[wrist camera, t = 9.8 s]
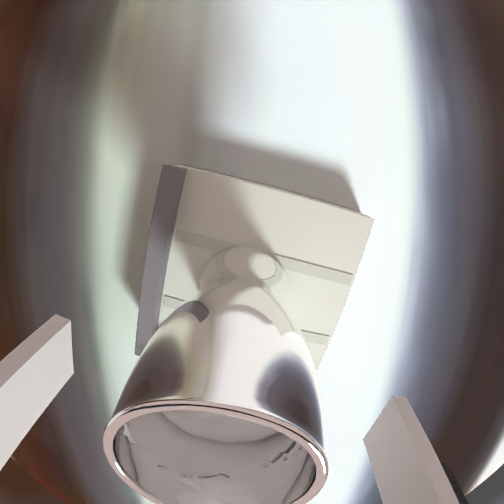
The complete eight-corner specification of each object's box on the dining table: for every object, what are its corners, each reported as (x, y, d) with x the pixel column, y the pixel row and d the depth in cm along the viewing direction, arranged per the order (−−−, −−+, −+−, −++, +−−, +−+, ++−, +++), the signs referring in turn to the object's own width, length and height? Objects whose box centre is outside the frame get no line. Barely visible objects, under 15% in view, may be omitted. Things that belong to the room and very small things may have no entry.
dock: (152, 327, 26) (134, 354, 22) (181, 165, 22) (163, 164, 18) (306, 365, 26) (312, 397, 22) (361, 212, 23) (381, 223, 18)
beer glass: (311, 262, 21) (386, 435, 6) (270, 345, 23) (271, 534, 8) (213, 223, 20) (106, 347, 6) (181, 311, 22) (92, 482, 8)
